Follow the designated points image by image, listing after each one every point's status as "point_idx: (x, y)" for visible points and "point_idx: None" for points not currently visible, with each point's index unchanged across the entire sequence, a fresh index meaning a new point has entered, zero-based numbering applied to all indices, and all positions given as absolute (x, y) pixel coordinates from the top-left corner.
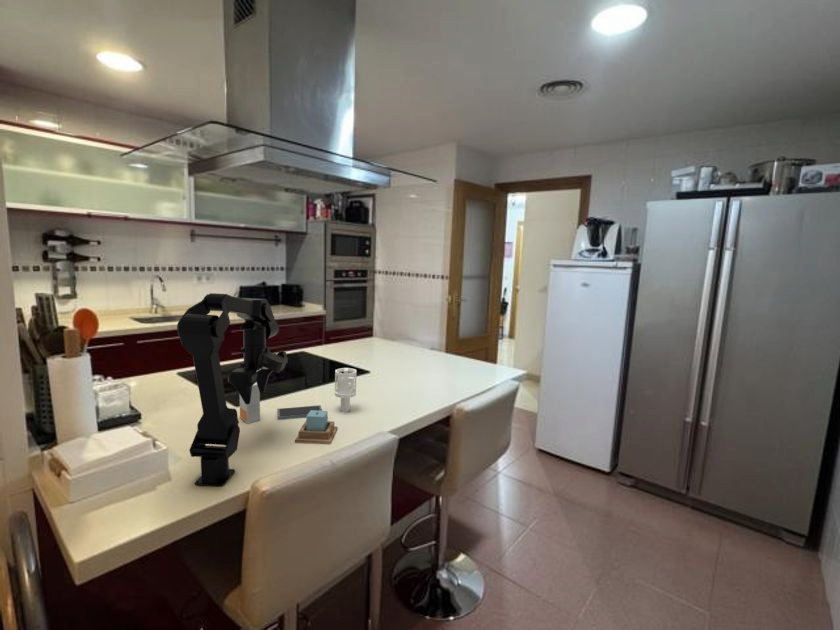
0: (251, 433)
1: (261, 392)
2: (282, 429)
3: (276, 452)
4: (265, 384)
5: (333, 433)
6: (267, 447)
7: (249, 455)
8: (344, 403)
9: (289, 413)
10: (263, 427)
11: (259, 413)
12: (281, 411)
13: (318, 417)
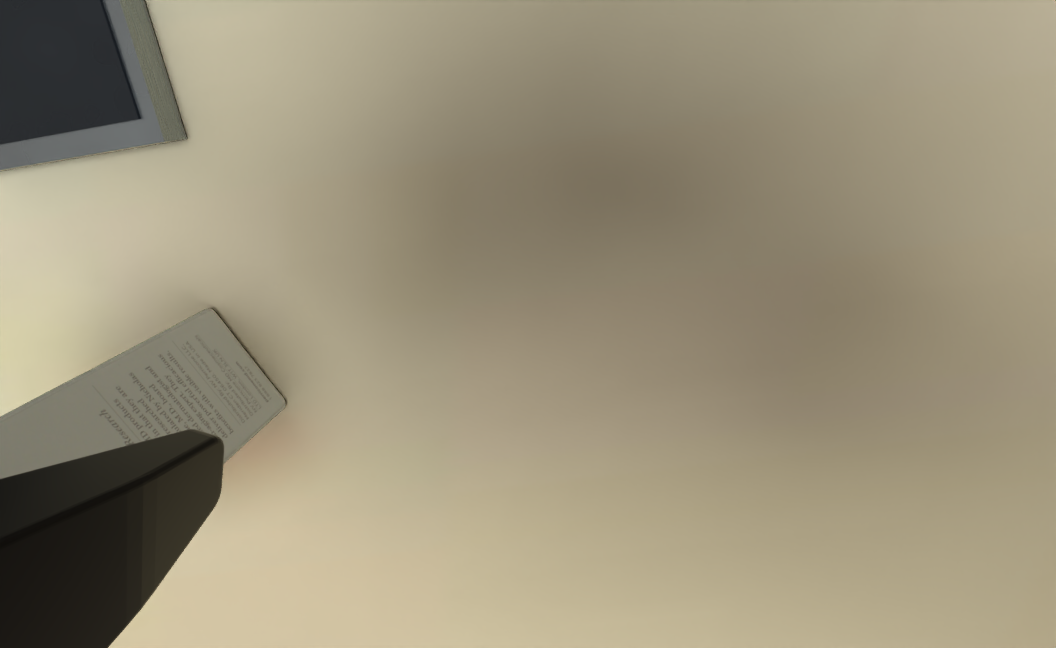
0: (494, 343)
1: (213, 483)
2: (416, 50)
3: (1006, 28)
4: (31, 528)
5: None
6: (846, 148)
7: (985, 297)
8: None
9: (62, 14)
10: (365, 255)
11: (172, 336)
12: (27, 118)
13: None
